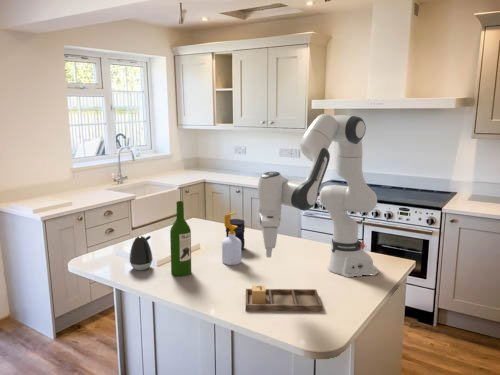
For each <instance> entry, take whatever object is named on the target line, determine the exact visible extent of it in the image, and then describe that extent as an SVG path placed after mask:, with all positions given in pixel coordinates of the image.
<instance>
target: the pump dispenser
mask: <svg viewBox="0 0 500 375" xmlns="http://www.w3.org/2000/svg"><path fill="white" fill-rule="evenodd" d="M150 239H151V235H148V236H147V237H145V236H143V235H141V236H137V237H135V239H134V240H133V242H132V244H131V247H130V252H129V263H130V266H131V267H132V268H133V269H134V270H137V271H145V270H148V269H149V268H150V267H151V265H152V263H153V260H154V259H153V258H154V257H153V253H152V249H151V245H150V243H149V240H150Z"/></svg>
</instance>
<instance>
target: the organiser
mask: <svg viewBox="0 0 500 375" xmlns="http://www.w3.org/2000/svg"><path fill="white" fill-rule="evenodd" d="M265 290H266V297H265V304H254V303H252V288H245V311H247V312H248V311H249V312H250V311H251V312H252V311H254V312H255V311H257V312H259V311H260V312H322V311H323V304H322V301H321V299H320V298H321V297H320V296H319V294H318V291H317V289H316V288H315V289H314V288H313V289H311V288H309V289H308V288H306V289H304V288H297V289H296V288H265Z"/></svg>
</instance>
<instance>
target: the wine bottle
mask: <svg viewBox="0 0 500 375" xmlns="http://www.w3.org/2000/svg"><path fill="white" fill-rule="evenodd" d="M184 213H185V212H184V201H183V200H182V201H181V200H179V201H176V219H175V221H174V223H172V226H171V227H170V231H169V232H170V237H169V240H170V273H171V275H172V276H173V277H180V278H181V277H186V276H189V275H190V274H191V275H192V236H191V233H192V231H191V228H190V226H189V224H188V222H187V221H186V219H185V215H184Z"/></svg>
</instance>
